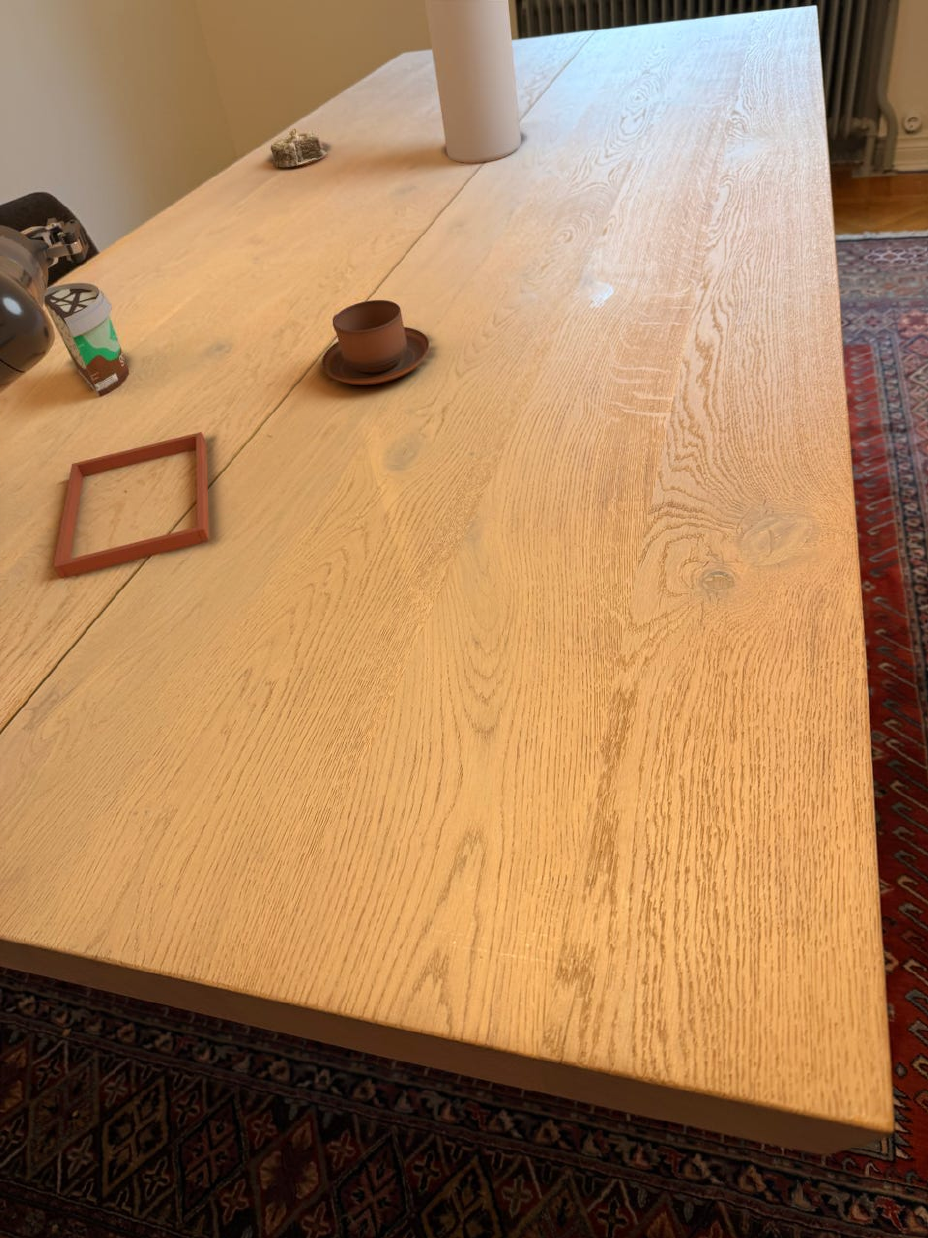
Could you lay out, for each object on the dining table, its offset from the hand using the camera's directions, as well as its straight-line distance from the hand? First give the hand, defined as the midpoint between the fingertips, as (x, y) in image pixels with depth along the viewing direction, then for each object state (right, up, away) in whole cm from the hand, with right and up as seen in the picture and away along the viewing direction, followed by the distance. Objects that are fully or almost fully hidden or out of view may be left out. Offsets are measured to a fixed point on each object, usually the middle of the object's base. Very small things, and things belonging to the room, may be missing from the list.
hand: (12, 238), depth 90 cm
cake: (+15, +45, +74) cm, 88 cm away
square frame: (+14, -28, -4) cm, 32 cm away
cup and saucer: (+35, -10, +11) cm, 38 cm away
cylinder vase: (+48, +41, +62) cm, 89 cm away
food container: (+2, -8, +20) cm, 22 cm away
